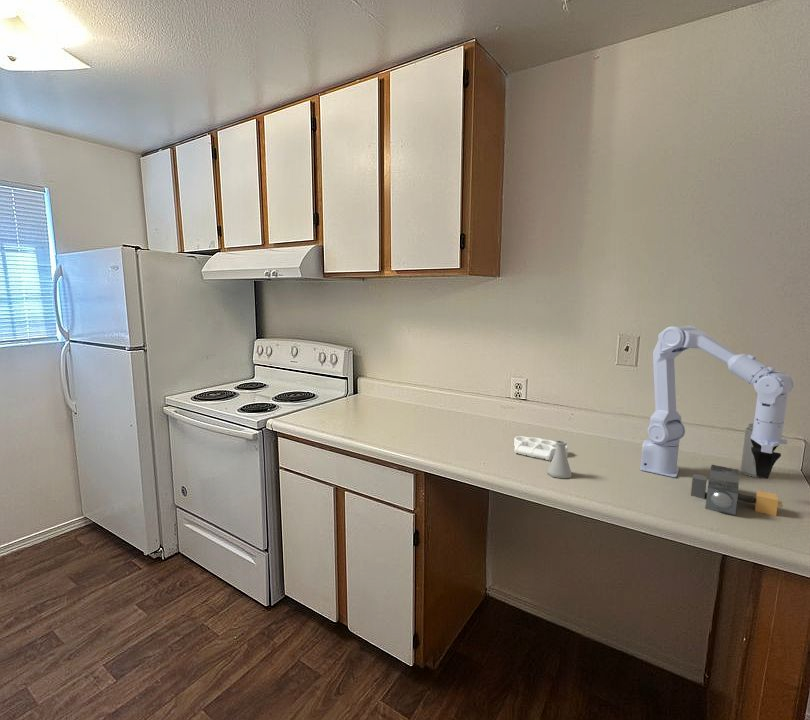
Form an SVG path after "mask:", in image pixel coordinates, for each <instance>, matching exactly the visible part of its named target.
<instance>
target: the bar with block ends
mask: <svg viewBox="0 0 810 720" xmlns="http://www.w3.org/2000/svg"><path fill="white" fill-rule="evenodd" d="M707 479H708V476H707V475H702V474H697V473H693V475H692V480H691V488H690V497H694V496H695V498H699V499H703V500H704V499H705V497H706V490H707ZM755 492H756V493H755V496H753V495H749V494H744V493H740V492H738V498H737V501H740V502H744V503H749V504H754V512H757V513H762V514H766V515H771V516H774V517H776V516H777V512H778V508H780V509H783V507H784V506H783V502H782V501H781V500H779V498H778V494H775V493H771V492H766V491H762V490H756V491H755Z"/></svg>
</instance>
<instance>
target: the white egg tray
mask: <svg viewBox="0 0 810 720" xmlns="http://www.w3.org/2000/svg"><path fill="white" fill-rule="evenodd" d="M513 440H514V441H513V442H514V443H513V446H515V447H514V450H513V452H514V454H516V453H518V454H517V455H523V456H526V455H527V456H526V457H531V458H535V457H536V458H535V459H540V460H544V459H545V461H548V460H549V461H552V459H553V458H552V457H554V454H555V451H556V446H557V444H556V441H555V440H552V439H544V438H540V437H530V436H529V437H528V436H522V435H521V436H520V435H518V436H515V437H514V439H513ZM568 449H569V448H568V444H567V445H566V447H565V450H566V456H567V457H568V451H569V450H568Z"/></svg>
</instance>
